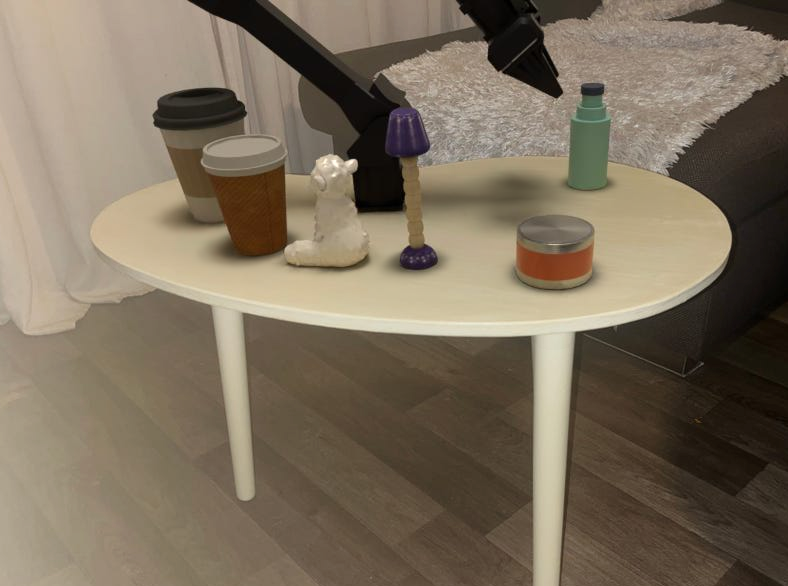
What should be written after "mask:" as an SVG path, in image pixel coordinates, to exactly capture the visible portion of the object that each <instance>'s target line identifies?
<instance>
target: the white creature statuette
mask: <svg viewBox="0 0 788 586" xmlns="http://www.w3.org/2000/svg"><path fill="white" fill-rule="evenodd" d="M357 167H358V163H357V160H356V159H351V160H349V159H347V160H345V161H344V160H343V159H342V158H341V157H340V156H339V155H337V154H335V155H334V154H333V153H329V154H327V155H323V156H320V157H319V158H318V159H316V160H315V167H314V168H313V169H312V171H311V172H310V179H309V183H308V184H309V185H308V190H309V191H311V192H312V193H314V195H315V197H316V198H317V199H316V200H315V207H314V213H315V215H314V216H313V217H314V222H315V224H314V226H313V228H314V230H315V231H314V233H313V238H314V239H313V241H311V240H310V239H308V238H307V239H306V238H305V239H304V240H303V239H302V240H299V239H297V240H295V241H294V242H293V243H289V244H286V246H285V247H284V258H285V261H286V262H287V263H289V264H291V265H295V266H297V267H299V266H305V267H327V268H329V267H335V268H346V267H351V266H354V265H356V264H359V263H360V262H361V261H363V260H364V259H365V257H366V255H367V254H368V253H369V249H370V248H371V247H370V245H369V244H370V242H371V241H370V234H369V233H368V232H367V230H365V228H364V223H363V222H362V221H361V219H360V217H359V216H358V211H357V208H356V207H355V201H353V200H352V198H351V197H350V196H349V195H347V193H346V192H347V191H348V189H349V186H350V184H351V179H352V178H351V177H352V176H351V175H352V173H353V172H355V171H356V170H357Z"/></svg>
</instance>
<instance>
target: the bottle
mask: <svg viewBox="0 0 788 586" xmlns="http://www.w3.org/2000/svg"><path fill="white" fill-rule="evenodd" d="M605 87H606V86H605V84H604V83H602V82H585V83H582V84H581V85H580V95H581V102H579V103H577V104H576V113H574V114H572V115H570V123H569V124H570V127H569V147H568V149H569V150H568V170H567V171H568V172H567V175H568V176H567V185H568V186H569V187H570V188H572V189H576V190H582V191H594V190H599V189H602V188H604V187H606V185H607V180H608V167H609V166H608V164H609V153H610V151H609V150H610V139H611V126H612V125H611V123H612V116H611V115H610V114H608V113H607V104H606V103H604V102H603V95H604V94H605Z"/></svg>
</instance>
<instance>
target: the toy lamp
mask: <svg viewBox="0 0 788 586" xmlns="http://www.w3.org/2000/svg"><path fill="white" fill-rule="evenodd" d="M430 149H431V142H430V139H429V136H428V133H427V130H426V127H425V124H424V121H423V118H422V115H421V113H420V111H419V109H417V108H414V107H412V108H399V109H395V110H393V111H392V112H391V113H390V116H389V121H388V128H387V135H386V143H385V151H386V153H387V154H388V155H390V156H393V157H401V163H402V165H403V169H402V175H403V178H404V180H405V181H404V191H405V193H406V195H405V201H404V205H405V207H406V210H405V216H406V219H407V226H406V227H407V231H408V233H409V235H408V244H409V245H407V246H406V247H405V248H403V249H402V251H401V253H400V256H399V264H400V266H402V267H403V268H406V269H409V270H423V269H428V268H430V267H432V266H435V265H436V264H437V262H438V255H437V252H436V250H434V248H433V247H432V246H430V245H429V244H426V243H425V242H426V240H425V239H426V237H425V235H424V233H423V232H424V229H425V228H424V227H425V226H424V222H423V215H424V213H423V208H422V207H421V206H422V200H423V199H422V195H421V193H420V192H421V182H420V180H419V177H420V169H419V166H418V162H419V156H423V155H425V154H427V153H428V152H430Z"/></svg>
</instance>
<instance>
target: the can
mask: <svg viewBox="0 0 788 586" xmlns="http://www.w3.org/2000/svg"><path fill="white" fill-rule="evenodd" d="M595 230H596V229H595V227H594V225H593V224H592V223H591V222H589V221H587V220H586V219H583V218H580V217H577V216H573V215H567V214H566V215H565V214H544V215H543V214H542V215H536V216H533V217H530V218H527V219H525V220H523V221H521V222H520V223H519V224H518V225H517V226H516V238H515V239H516V243H515V244H516V245H515V248H516V251H515V265H516V266H515V267H516V270H515V271H516V273H515V274H516V276H517V278H518V279H519V280H520V281H521V282H523V283H524V284H526V285H529V286H530V287H534V288H538V289H544V290H568V289H572V288H576V287H579V286H582V285H583V284H585V283H587V282H589V280H590V279H591V278H592V276H593V275H592V274H593V266H594V265H593V264H594V249H595V232H596V231H595Z"/></svg>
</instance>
